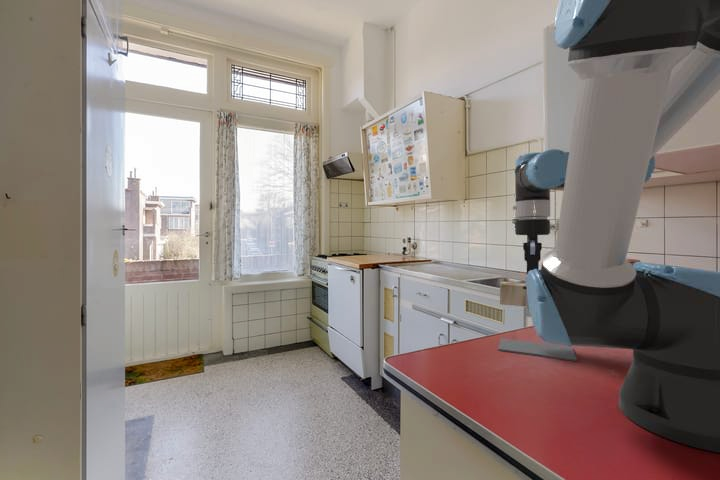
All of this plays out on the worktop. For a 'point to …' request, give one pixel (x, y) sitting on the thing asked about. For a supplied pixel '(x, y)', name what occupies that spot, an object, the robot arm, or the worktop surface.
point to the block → (512, 293)
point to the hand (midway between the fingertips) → (532, 313)
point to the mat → (537, 349)
